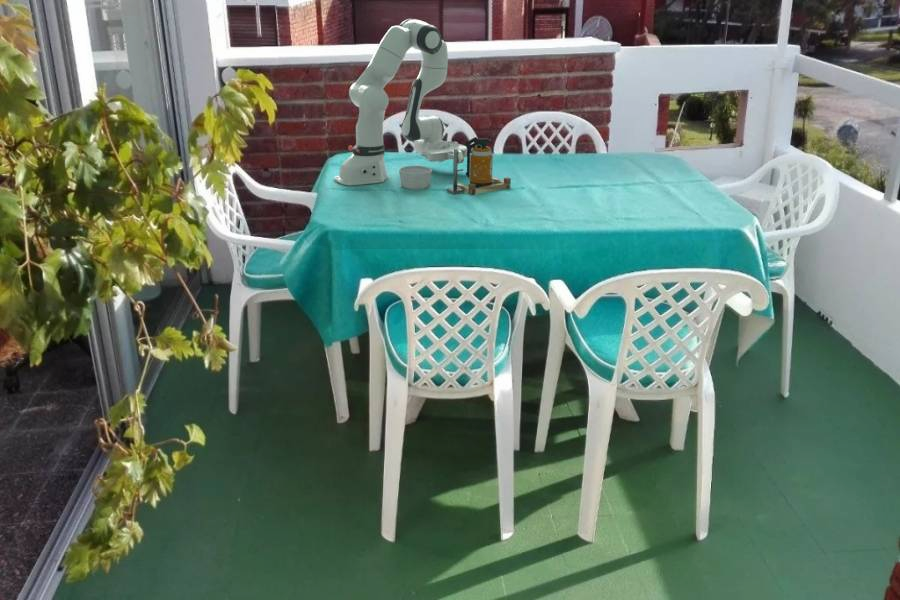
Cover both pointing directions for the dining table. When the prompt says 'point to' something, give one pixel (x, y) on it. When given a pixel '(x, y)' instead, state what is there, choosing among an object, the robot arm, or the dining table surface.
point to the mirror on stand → (457, 158)
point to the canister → (479, 162)
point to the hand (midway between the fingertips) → (458, 157)
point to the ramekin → (415, 177)
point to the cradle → (498, 186)
